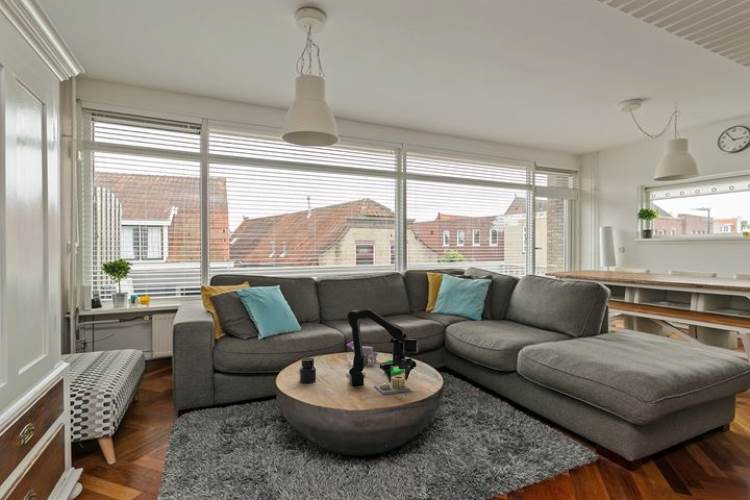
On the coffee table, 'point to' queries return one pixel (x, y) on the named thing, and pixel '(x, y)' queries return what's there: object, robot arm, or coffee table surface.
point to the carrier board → (390, 388)
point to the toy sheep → (366, 352)
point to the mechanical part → (394, 369)
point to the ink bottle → (307, 370)
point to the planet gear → (398, 382)
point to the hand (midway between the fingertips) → (398, 381)
